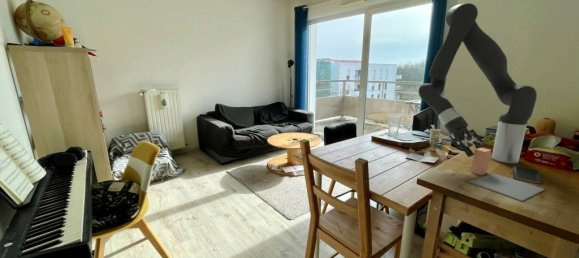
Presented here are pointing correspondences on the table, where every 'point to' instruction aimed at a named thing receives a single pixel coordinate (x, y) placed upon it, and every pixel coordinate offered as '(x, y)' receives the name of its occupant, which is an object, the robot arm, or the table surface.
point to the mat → (507, 186)
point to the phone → (526, 174)
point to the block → (480, 161)
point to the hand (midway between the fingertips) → (477, 154)
